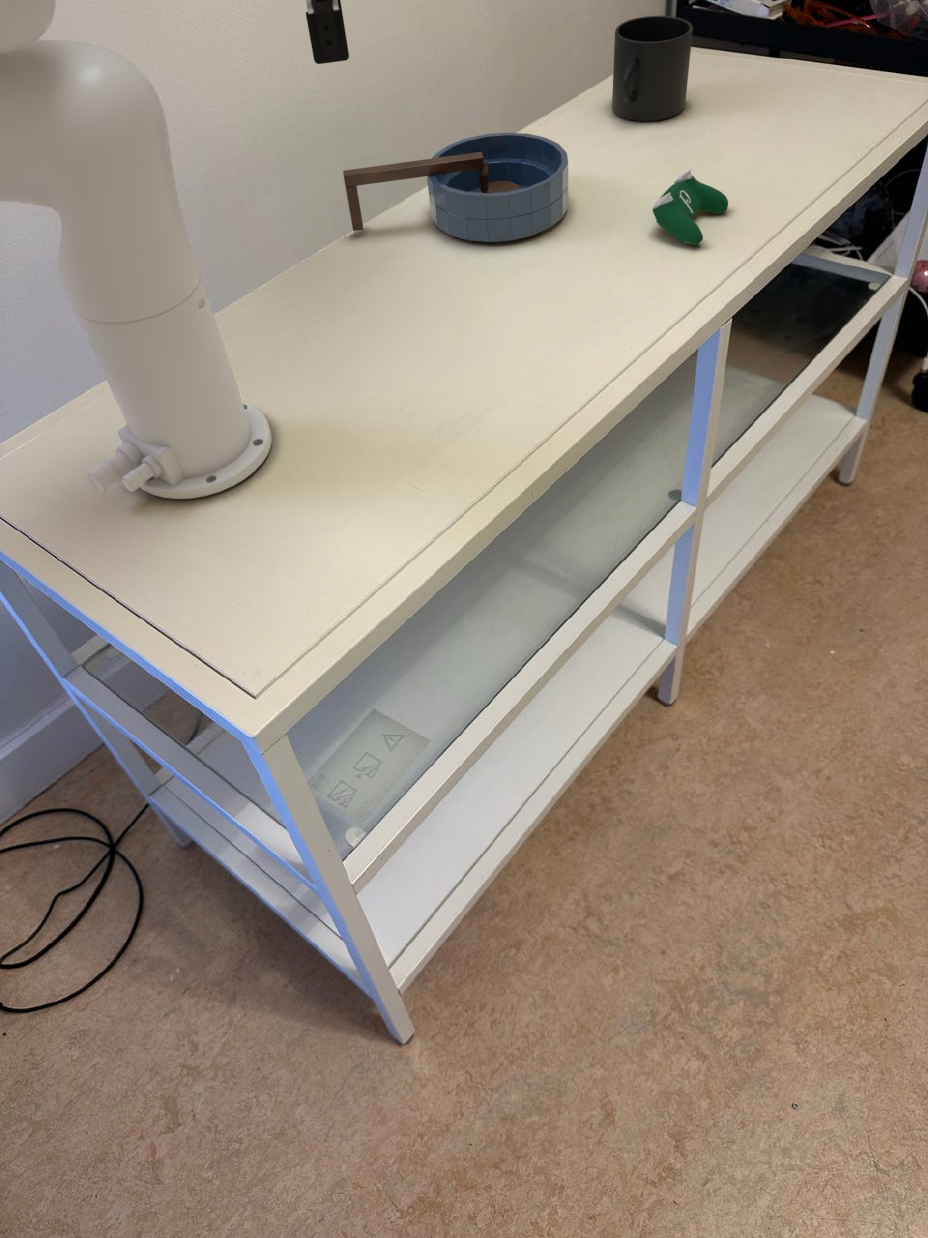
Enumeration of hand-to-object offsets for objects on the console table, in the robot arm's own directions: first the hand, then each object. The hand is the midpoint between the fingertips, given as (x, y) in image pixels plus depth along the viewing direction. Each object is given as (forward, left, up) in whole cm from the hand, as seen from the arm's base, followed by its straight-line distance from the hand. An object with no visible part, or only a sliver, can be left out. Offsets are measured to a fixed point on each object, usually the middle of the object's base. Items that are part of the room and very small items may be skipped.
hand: (330, 43), depth 85 cm
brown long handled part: (+8, -4, -19) cm, 21 cm away
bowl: (+13, -9, -20) cm, 25 cm away
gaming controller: (+20, -29, -20) cm, 41 cm away
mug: (+44, -10, -20) cm, 49 cm away
